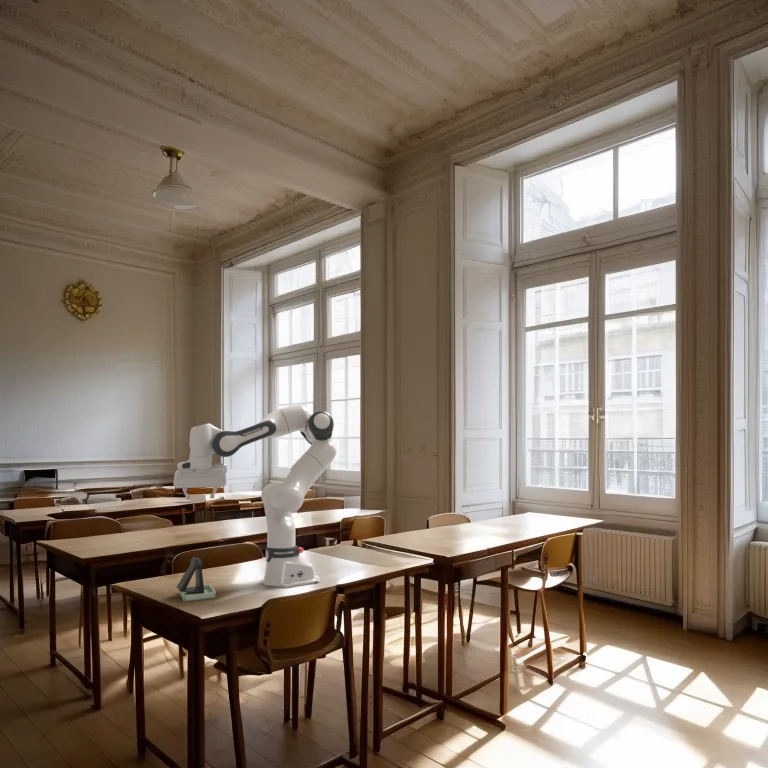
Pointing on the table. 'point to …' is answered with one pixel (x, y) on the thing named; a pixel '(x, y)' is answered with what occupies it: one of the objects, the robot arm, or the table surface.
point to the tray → (208, 594)
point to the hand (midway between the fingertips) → (200, 498)
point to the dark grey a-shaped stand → (188, 575)
